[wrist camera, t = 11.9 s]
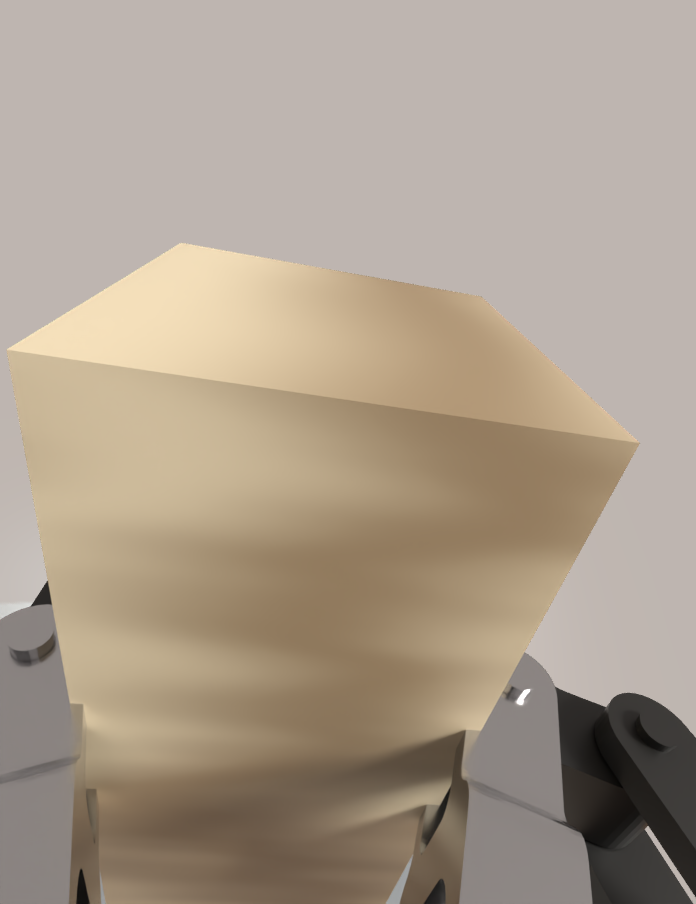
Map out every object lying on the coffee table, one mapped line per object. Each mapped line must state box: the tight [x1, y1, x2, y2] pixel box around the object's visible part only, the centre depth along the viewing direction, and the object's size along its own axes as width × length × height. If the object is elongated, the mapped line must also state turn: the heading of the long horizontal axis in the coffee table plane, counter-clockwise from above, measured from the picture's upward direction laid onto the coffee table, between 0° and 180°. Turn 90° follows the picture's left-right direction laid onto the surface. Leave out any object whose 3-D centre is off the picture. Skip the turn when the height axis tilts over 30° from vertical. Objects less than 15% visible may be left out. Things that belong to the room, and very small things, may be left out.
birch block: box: [7, 243, 640, 904], centre depth 9 cm, size 5×5×12 cm
